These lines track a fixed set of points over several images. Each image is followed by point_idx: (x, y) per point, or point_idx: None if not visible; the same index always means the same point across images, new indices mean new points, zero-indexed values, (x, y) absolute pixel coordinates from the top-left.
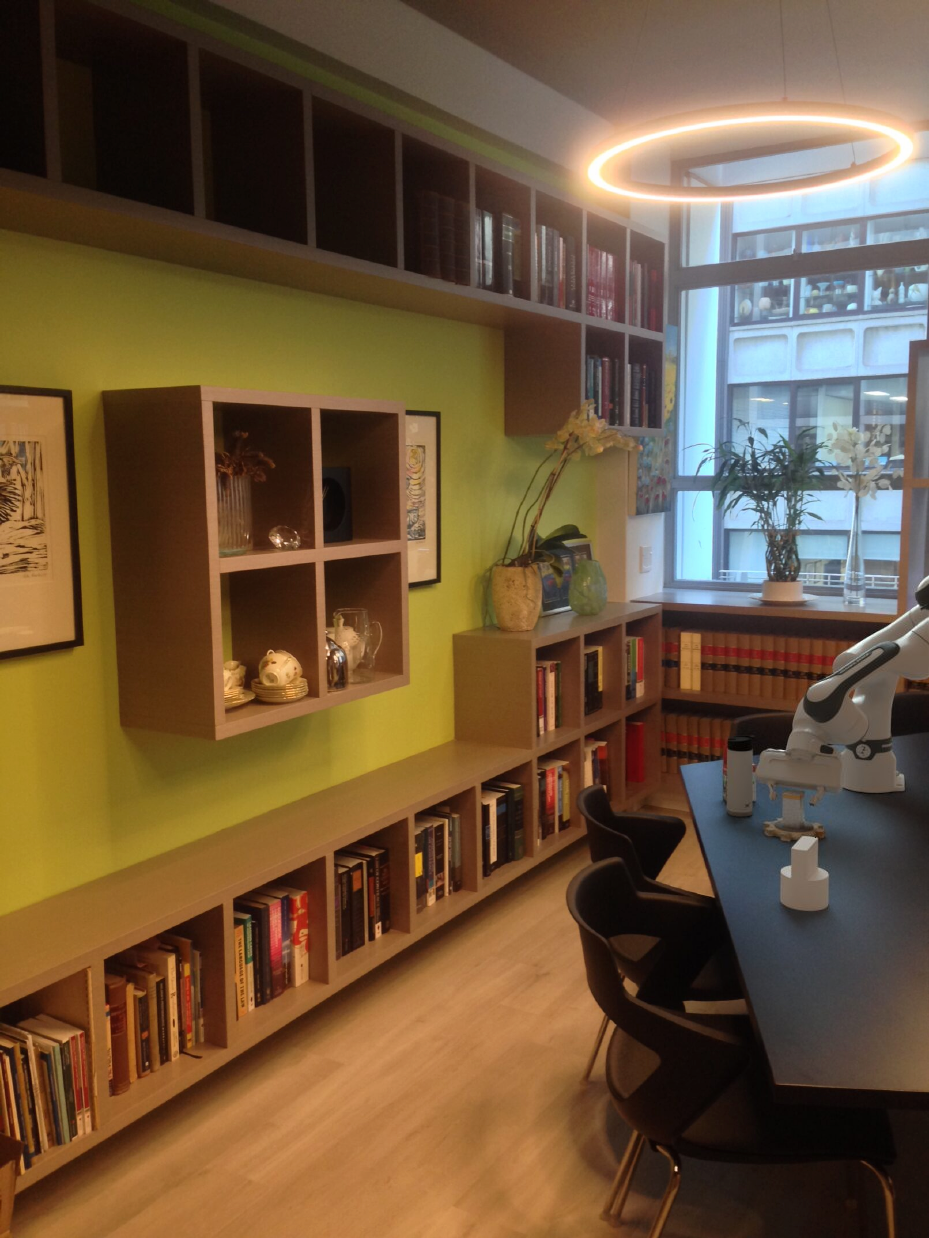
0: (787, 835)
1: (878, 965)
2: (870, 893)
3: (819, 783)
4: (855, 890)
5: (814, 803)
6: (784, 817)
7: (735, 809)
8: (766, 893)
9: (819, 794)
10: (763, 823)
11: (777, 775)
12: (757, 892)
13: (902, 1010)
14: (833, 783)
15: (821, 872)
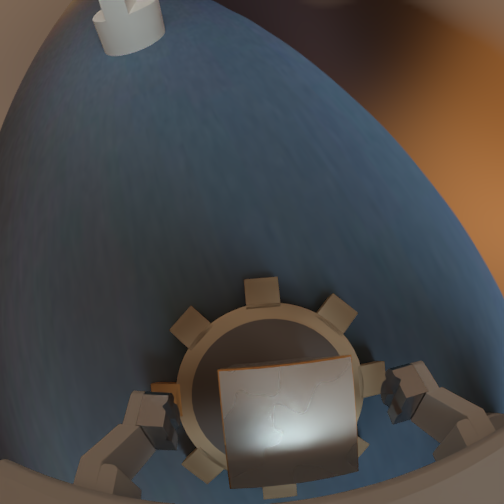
0: (252, 279)
1: (76, 17)
2: (47, 103)
3: (85, 493)
4: (65, 98)
5: (140, 392)
6: (304, 358)
7: (492, 417)
8: (187, 30)
9: (105, 437)
10: (383, 361)
11: (474, 471)
12: (200, 28)
13: (74, 4)
14: (2, 471)
15: (101, 16)
